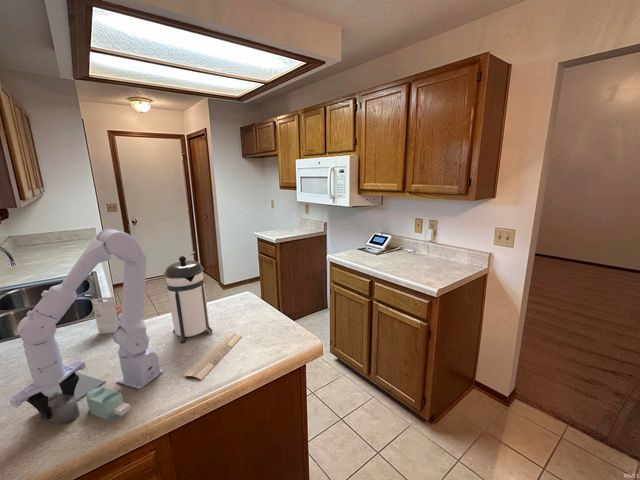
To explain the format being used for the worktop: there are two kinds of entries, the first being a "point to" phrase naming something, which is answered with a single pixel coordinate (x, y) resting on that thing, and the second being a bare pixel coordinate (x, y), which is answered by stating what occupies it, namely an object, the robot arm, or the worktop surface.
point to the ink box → (106, 315)
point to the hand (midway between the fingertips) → (58, 410)
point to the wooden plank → (213, 356)
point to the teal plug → (106, 403)
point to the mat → (79, 386)
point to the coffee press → (187, 298)
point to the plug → (62, 408)
